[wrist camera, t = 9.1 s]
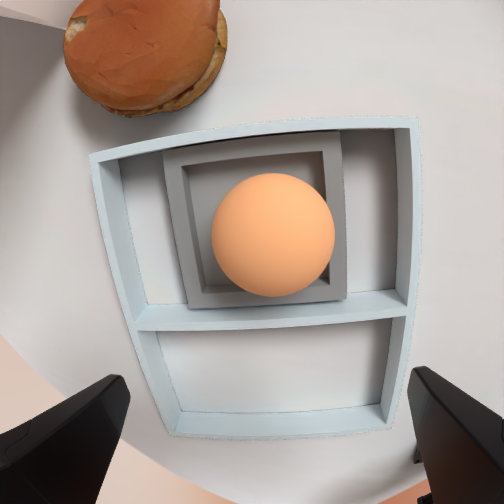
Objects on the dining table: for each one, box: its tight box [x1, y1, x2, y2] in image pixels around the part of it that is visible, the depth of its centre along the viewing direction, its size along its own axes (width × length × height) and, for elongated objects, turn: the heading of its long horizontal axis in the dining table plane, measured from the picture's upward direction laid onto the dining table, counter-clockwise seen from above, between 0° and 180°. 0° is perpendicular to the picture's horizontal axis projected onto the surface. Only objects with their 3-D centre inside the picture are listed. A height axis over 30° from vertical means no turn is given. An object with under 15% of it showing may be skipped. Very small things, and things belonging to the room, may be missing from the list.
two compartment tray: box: [88, 116, 423, 440], centre depth 20 cm, size 22×18×2 cm
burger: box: [63, 0, 227, 118], centre depth 14 cm, size 10×9×5 cm
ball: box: [211, 173, 335, 297], centre depth 16 cm, size 6×6×6 cm
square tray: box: [161, 131, 347, 309], centre depth 18 cm, size 10×10×2 cm
